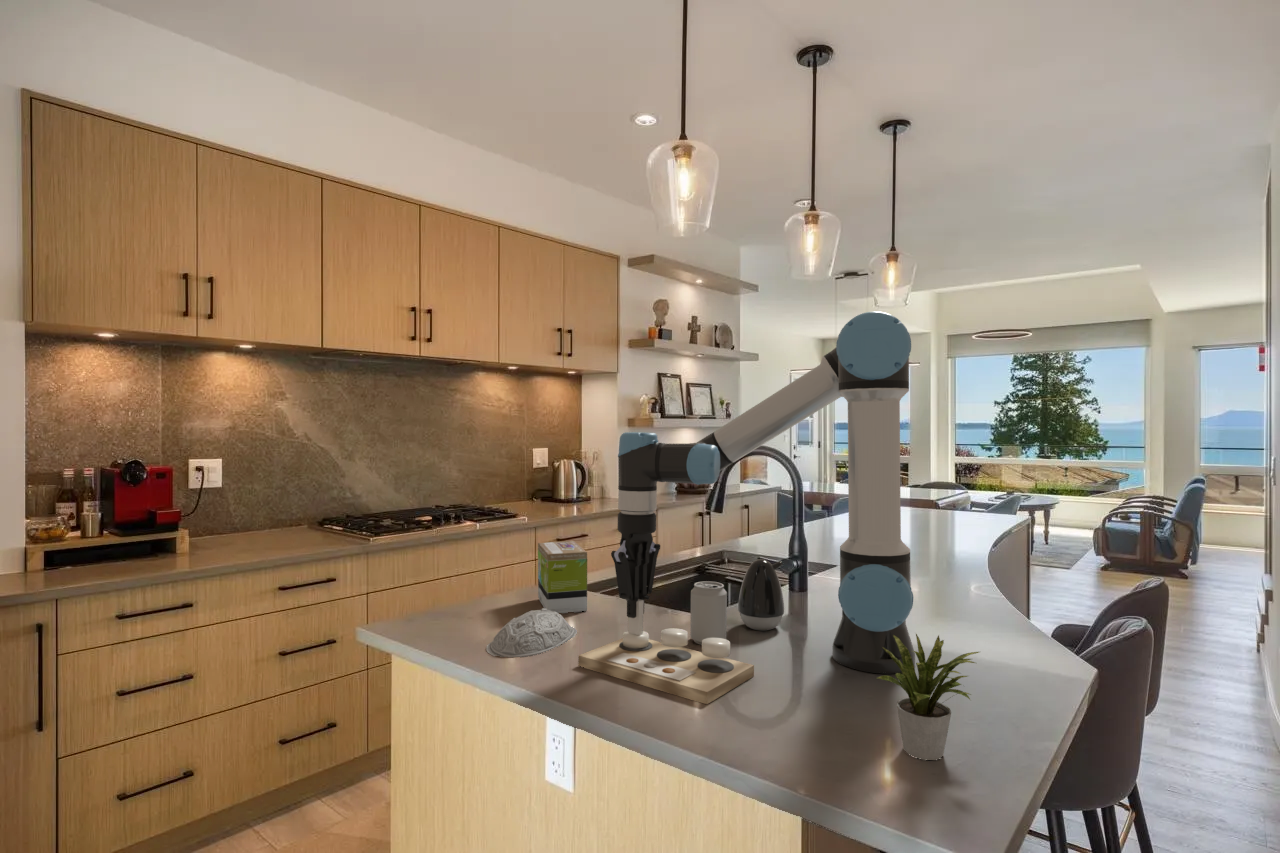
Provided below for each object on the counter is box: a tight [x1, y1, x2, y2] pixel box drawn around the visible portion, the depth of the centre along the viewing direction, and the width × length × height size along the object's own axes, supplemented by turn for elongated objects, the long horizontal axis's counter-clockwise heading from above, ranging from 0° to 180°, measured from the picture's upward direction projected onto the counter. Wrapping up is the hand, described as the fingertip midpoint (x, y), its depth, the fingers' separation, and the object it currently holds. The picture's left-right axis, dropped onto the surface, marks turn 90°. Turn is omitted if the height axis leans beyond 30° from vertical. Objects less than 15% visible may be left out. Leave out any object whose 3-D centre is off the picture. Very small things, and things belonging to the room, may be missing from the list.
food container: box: [485, 607, 578, 658], centre depth 144 cm, size 16×25×7 cm, turn 160°
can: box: [689, 580, 728, 646], centre depth 144 cm, size 8×8×12 cm
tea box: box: [537, 540, 588, 614], centre depth 171 cm, size 15×10×15 cm
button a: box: [701, 638, 731, 658], centre depth 124 cm, size 5×5×2 cm
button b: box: [660, 627, 689, 648], centre depth 129 cm, size 5×5×2 cm
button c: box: [622, 630, 650, 649], centre depth 135 cm, size 5×5×2 cm
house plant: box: [877, 633, 980, 761], centre depth 95 cm, size 14×14×16 cm
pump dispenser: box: [737, 558, 785, 632], centre depth 155 cm, size 10×10×15 cm
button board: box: [577, 637, 755, 705], centre depth 127 cm, size 28×16×2 cm, turn 53°
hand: (635, 632), depth 135 cm, fingers closed
